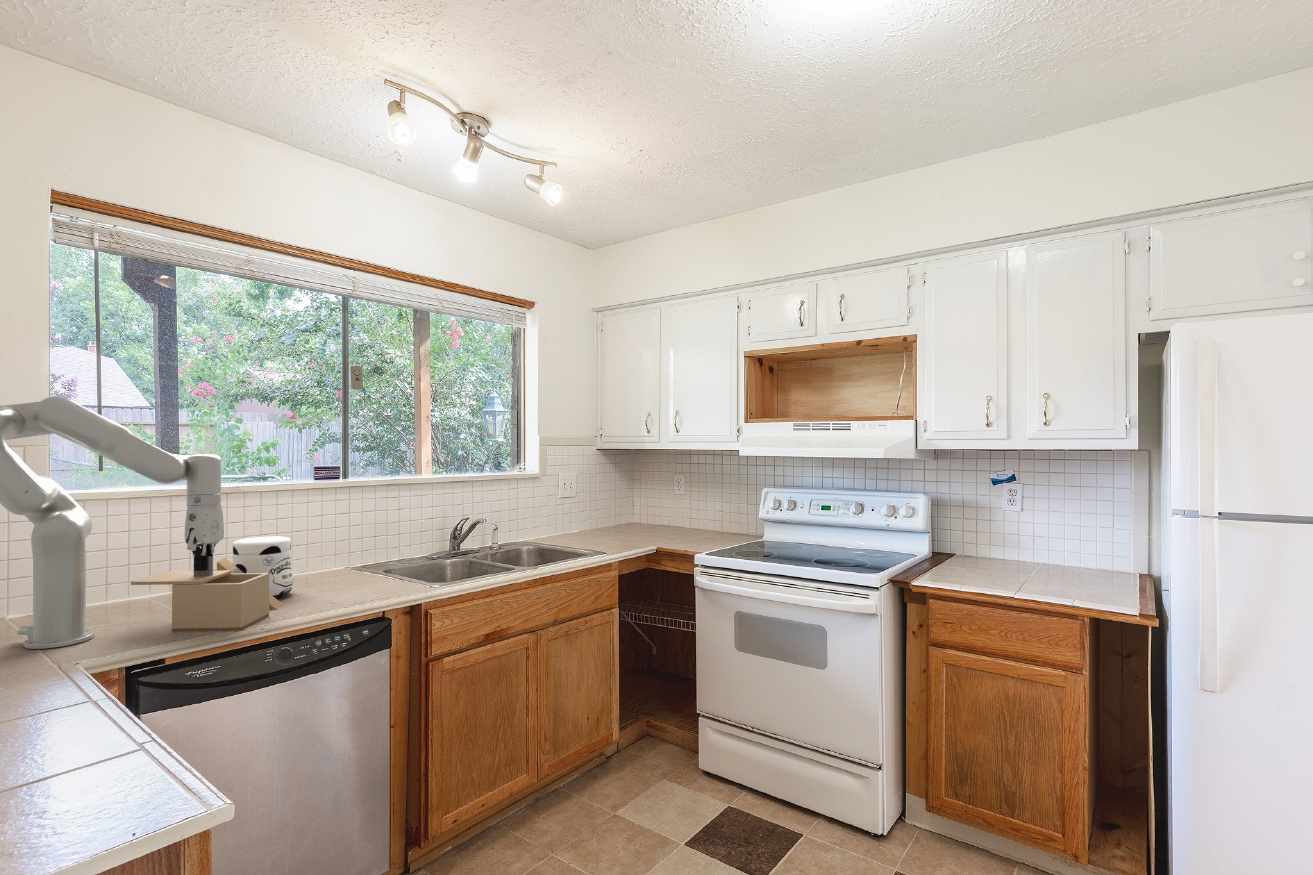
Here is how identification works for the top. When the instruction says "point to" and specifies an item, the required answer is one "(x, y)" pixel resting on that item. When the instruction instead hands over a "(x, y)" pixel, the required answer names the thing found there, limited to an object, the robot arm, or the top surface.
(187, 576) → the carton lid
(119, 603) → the top surface
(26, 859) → the top surface
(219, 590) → the carton
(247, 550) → the milk container
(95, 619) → the top surface
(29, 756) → the top surface
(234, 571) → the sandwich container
